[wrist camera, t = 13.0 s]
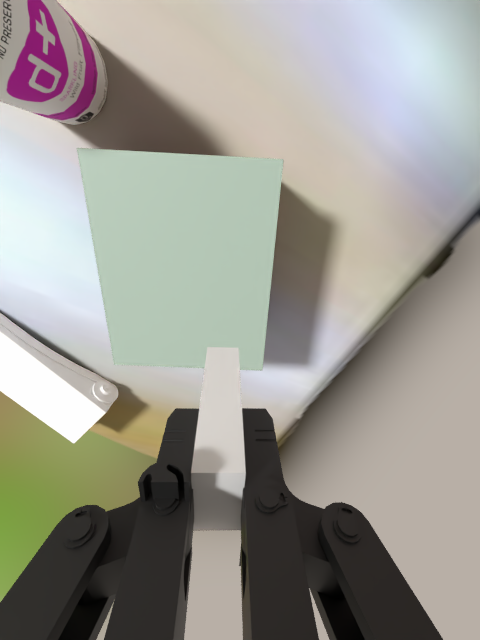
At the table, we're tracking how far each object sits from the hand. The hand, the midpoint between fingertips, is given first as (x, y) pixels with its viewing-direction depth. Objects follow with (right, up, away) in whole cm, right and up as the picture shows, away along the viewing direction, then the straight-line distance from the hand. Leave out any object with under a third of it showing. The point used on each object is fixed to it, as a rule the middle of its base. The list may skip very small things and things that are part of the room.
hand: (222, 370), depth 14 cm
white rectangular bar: (-31, -2, +27) cm, 41 cm away
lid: (-4, +7, +14) cm, 16 cm away
